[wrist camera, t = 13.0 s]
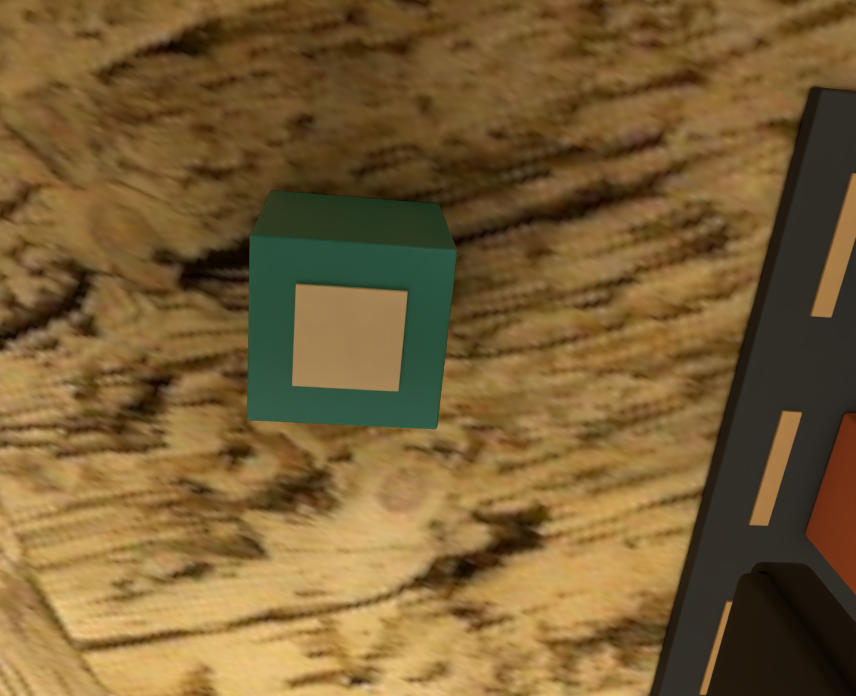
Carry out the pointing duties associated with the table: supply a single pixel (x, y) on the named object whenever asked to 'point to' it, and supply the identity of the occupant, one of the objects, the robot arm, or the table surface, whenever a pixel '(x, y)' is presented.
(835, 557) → the orange cube
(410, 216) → the green cube
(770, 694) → the robot arm
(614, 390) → the table surface
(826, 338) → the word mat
